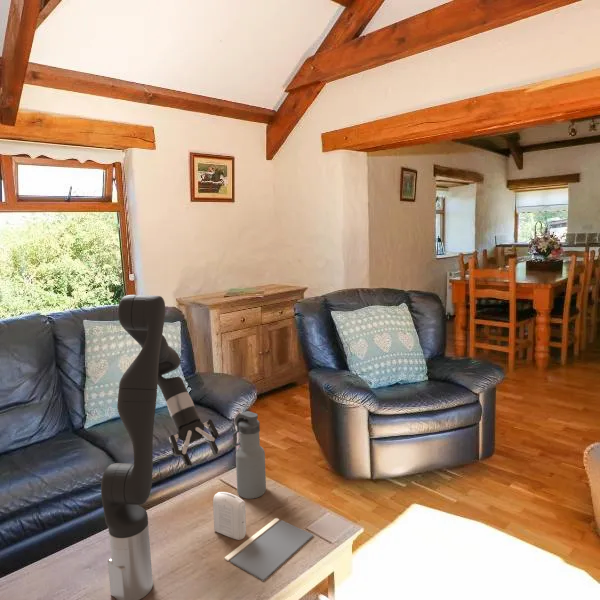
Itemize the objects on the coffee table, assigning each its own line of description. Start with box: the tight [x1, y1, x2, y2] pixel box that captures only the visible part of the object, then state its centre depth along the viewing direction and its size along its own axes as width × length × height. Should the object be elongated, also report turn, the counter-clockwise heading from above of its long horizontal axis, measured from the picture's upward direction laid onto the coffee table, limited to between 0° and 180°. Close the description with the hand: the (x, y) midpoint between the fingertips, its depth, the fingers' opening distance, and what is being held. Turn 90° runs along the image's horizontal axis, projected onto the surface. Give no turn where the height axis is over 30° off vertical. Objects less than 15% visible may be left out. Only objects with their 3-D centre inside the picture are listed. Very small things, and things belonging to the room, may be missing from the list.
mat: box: [224, 517, 314, 582], centre depth 135 cm, size 22×14×1 cm, turn 143°
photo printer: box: [212, 491, 247, 541], centre depth 141 cm, size 10×4×12 cm, turn 60°
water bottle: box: [232, 410, 267, 500], centre depth 161 cm, size 10×10×28 cm
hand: (203, 460), depth 142 cm, fingers open, 8 cm apart
